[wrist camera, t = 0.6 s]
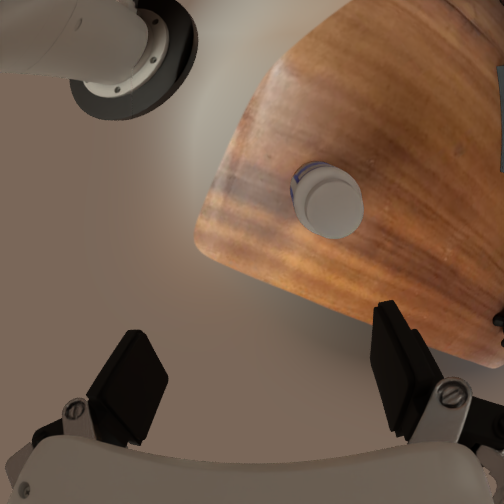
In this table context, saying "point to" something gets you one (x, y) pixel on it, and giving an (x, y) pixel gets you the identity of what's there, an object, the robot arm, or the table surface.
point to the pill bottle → (326, 200)
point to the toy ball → (499, 322)
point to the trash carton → (503, 86)
